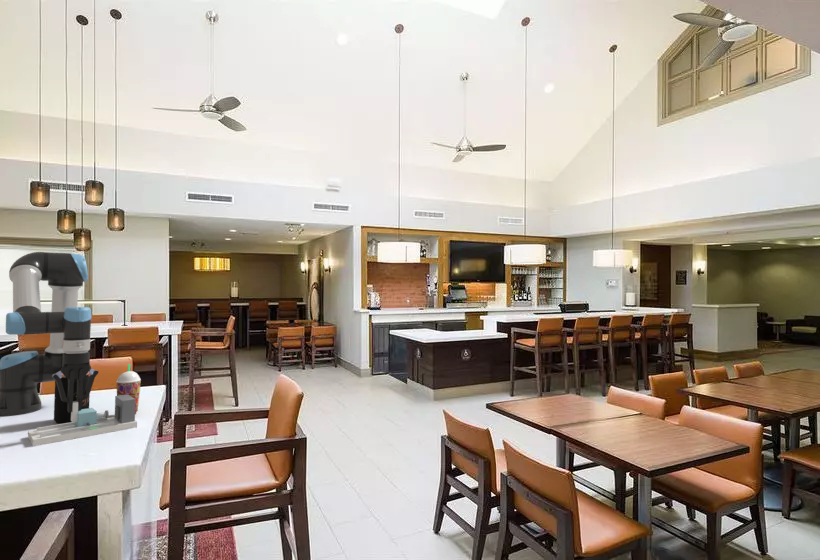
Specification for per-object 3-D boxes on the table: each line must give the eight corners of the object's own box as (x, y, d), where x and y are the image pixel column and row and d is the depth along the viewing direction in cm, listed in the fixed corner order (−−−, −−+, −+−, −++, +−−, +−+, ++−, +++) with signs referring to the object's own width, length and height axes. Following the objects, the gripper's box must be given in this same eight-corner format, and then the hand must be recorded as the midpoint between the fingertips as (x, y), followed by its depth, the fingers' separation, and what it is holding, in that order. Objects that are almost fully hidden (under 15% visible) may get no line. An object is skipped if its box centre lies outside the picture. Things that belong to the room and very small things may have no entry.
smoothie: (111, 418, 173) (113, 366, 173) (119, 412, 181) (120, 362, 181) (136, 417, 175) (137, 365, 176) (142, 411, 183) (144, 362, 184)
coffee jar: (70, 425, 164) (71, 375, 164) (46, 423, 166) (47, 374, 166) (95, 417, 174) (97, 370, 175) (73, 415, 176) (74, 369, 177)
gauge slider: (74, 424, 157) (75, 410, 157) (105, 419, 163) (105, 405, 164) (80, 430, 151) (80, 415, 151) (111, 425, 157) (112, 410, 157)
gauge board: (28, 437, 150) (29, 407, 150) (127, 420, 171) (128, 393, 171) (32, 446, 142) (34, 414, 142) (137, 427, 163) (137, 399, 163)
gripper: (54, 354, 148) (51, 427, 147) (101, 351, 157) (99, 419, 156) (50, 352, 153) (48, 422, 152) (96, 349, 162) (94, 415, 162)
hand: (74, 420), depth 154 cm, fingers closed
